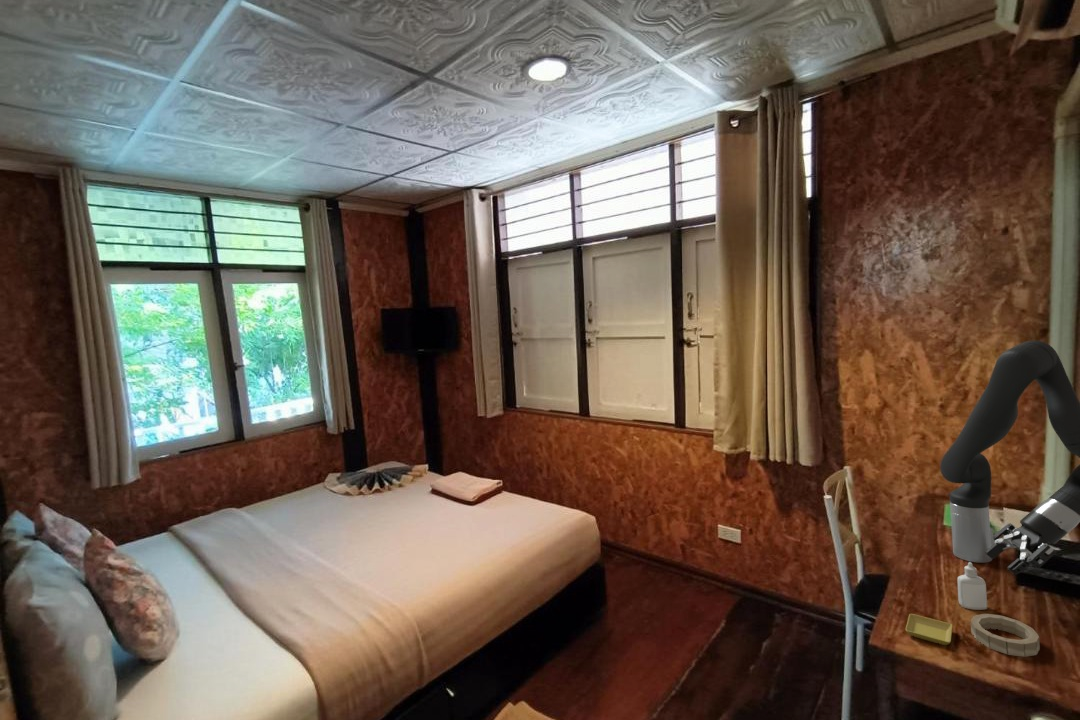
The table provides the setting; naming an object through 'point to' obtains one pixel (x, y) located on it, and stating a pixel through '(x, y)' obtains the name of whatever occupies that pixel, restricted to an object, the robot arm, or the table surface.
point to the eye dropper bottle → (972, 589)
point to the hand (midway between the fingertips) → (999, 563)
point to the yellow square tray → (929, 629)
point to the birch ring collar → (1004, 645)
